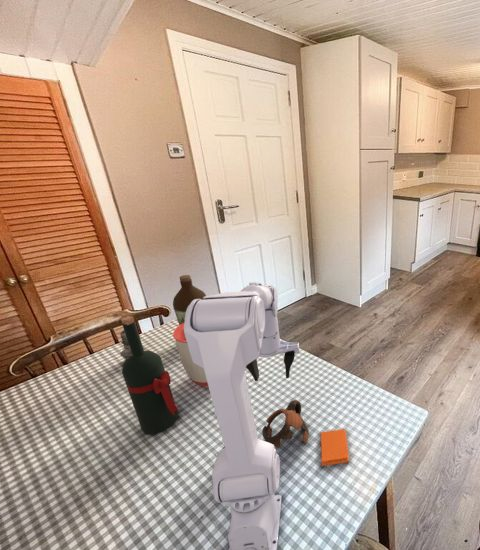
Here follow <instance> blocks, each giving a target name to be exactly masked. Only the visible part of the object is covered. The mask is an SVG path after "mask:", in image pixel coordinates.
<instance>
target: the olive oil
mask: <svg viewBox="0 0 480 550" xmlns="http://www.w3.org/2000/svg"><path fill="white" fill-rule="evenodd" d="M179 283H180V289H179V290H178V291H177V293H175V296H174V297H173V300H172V307H173V308H172V309H173V312H174V314H175V317H176V320H177V323H178V326H179V325H181V324H182V323H184V322H185V314H186V310H187V308H188V306H189V305H190V303H191V302H192V301H193V300H195V299H201V300H203V297H205V296H207V294H206V293H205V291H203V290H201V289H200V288H198V287H197V286H195V285H193V280H192V278H191V275H190V274H183V275H180V276H179Z"/></svg>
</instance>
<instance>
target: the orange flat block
mask: <svg viewBox="0 0 480 550" xmlns="http://www.w3.org/2000/svg"><path fill="white" fill-rule="evenodd" d="M320 455H321V456H320V457H321V458H320V459H321V467H326V466H333V465H339V464H346V463H350V458H349V456H350V455H349V449H348V440H347V432H346V430H345V429H344V428H343V429H335V430H327V431H321V432H320Z"/></svg>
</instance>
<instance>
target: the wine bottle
mask: <svg viewBox="0 0 480 550" xmlns="http://www.w3.org/2000/svg"><path fill="white" fill-rule="evenodd" d="M120 321H121V324H122V328H123V329H124V330H123V331H125V334H126V337H127V340H128V343H129V346H130V349H131V352H132V355H131V356H130V357H129V358H128V359H125V360H126V361H124V362H123V365H122V370H121V373H122V377H123V379H124V383H125V386H126V388H127V391H128V394H129V397H130V400H131V403H132V405H133V409H134V411H135V414H136V417H137V421H138V423H139V426H140V429H141V431H142V432H143V433H144V434H146V436H147V435H154V436H155V435H158V434H160V433H163V432H166V431H167V430H168V429H170V428H171V427H173V426H174V425H175V424H176V422H177V421H178V419H179V412H180V409H179V408H178V406H177V404H176V401H175V399H174V395H173V392H172V389H171V386H170V385H171V384H172V383H171V382H172V379H171V376H170V372H169V371H167V370H166V369H165V366H164V362H163V359H162V357H161V355H160V354H158V353H156V352H154V351H152V350H145V348H144V346H143V342H142V339H141V337H140V334H139V333H140V332H139V330H138V327H137V324H136V321H135V317H134V316H130V315H127V316H124V317H123V318H121V319H120Z"/></svg>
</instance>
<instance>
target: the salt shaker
mask: <svg viewBox="0 0 480 550" xmlns="http://www.w3.org/2000/svg"><path fill="white" fill-rule="evenodd" d="M119 336H120V338H121V342H120V343H121V344H122V345H123V350H122V351H121V352H120V356H122V358H124V359H125V361H126V359H128V358H129V357H130V356H131V355H132V352H131V349H130V346H129V343H128V340H127V337H126V334H125V331H124V328H123V330H122V331H120V333H119ZM125 361H124V362H125Z"/></svg>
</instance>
